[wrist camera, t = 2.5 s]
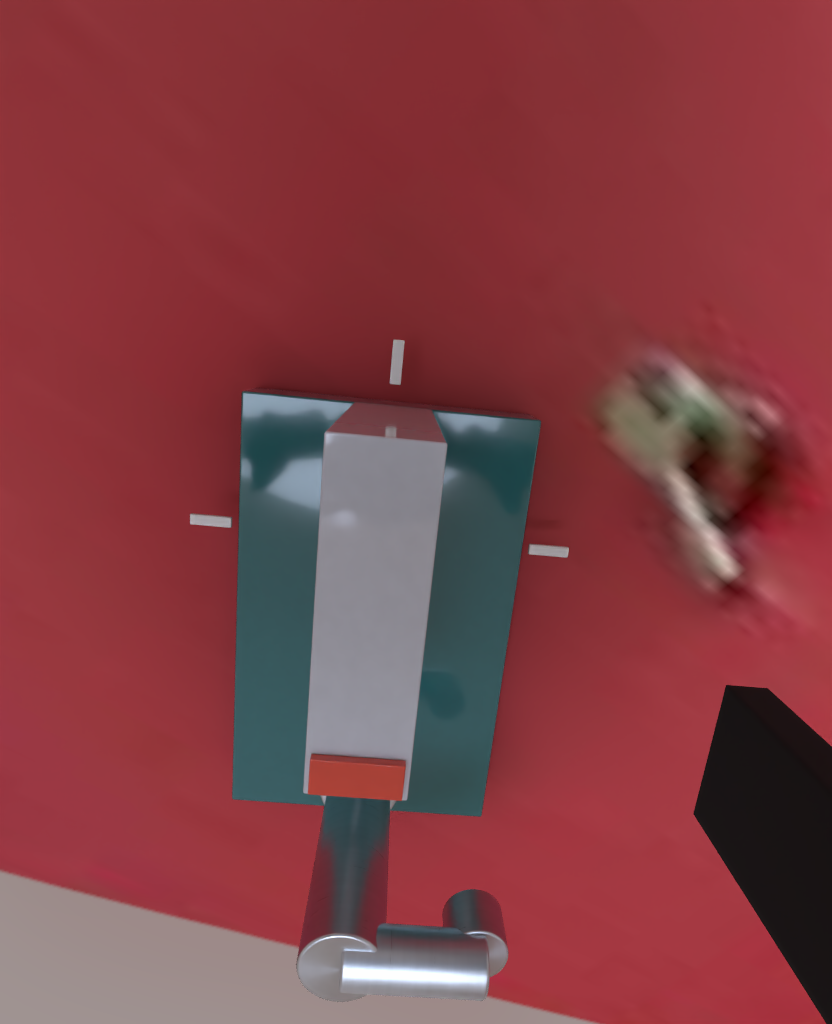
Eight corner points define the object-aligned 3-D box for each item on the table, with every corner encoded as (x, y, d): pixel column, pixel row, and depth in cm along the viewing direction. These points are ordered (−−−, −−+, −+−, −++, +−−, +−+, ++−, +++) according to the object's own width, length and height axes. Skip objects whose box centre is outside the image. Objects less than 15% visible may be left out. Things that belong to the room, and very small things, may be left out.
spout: (320, 806, 24) (279, 1024, 16) (324, 741, 23) (284, 937, 15) (474, 817, 24) (506, 1036, 16) (483, 753, 23) (522, 952, 16)
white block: (354, 401, 20) (322, 432, 12) (432, 409, 20) (448, 445, 12) (336, 648, 22) (300, 801, 15) (406, 654, 22) (407, 808, 15)
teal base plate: (211, 321, 21) (190, 318, 19) (582, 359, 21) (601, 360, 19) (206, 763, 26) (189, 800, 23) (512, 785, 26) (521, 823, 24)
